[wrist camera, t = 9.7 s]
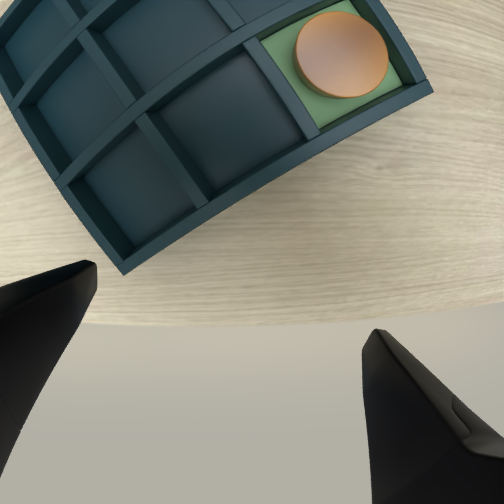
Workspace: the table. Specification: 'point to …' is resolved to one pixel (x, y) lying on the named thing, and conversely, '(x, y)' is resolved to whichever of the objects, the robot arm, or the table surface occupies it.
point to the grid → (177, 105)
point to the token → (340, 55)
